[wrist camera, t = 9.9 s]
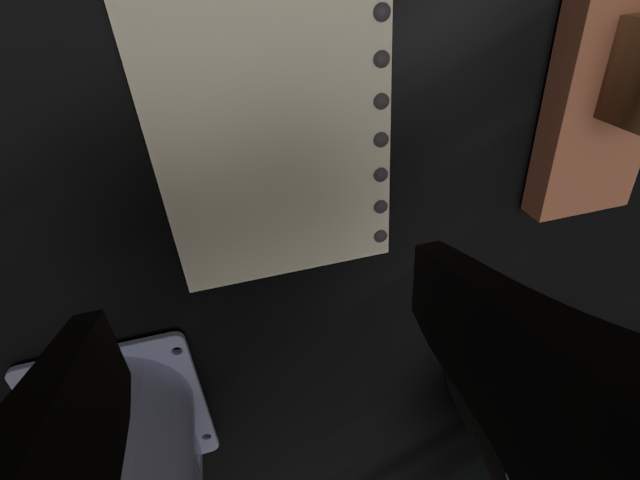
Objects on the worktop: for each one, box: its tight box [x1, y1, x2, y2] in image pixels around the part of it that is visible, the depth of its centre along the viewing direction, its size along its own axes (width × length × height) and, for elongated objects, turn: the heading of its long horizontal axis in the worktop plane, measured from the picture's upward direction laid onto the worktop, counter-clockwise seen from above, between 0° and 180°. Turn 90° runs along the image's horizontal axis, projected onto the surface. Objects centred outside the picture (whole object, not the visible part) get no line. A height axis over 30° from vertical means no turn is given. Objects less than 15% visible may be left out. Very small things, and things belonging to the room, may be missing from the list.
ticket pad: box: [104, 0, 393, 293], centre depth 17 cm, size 14×9×2 cm, turn 4°
